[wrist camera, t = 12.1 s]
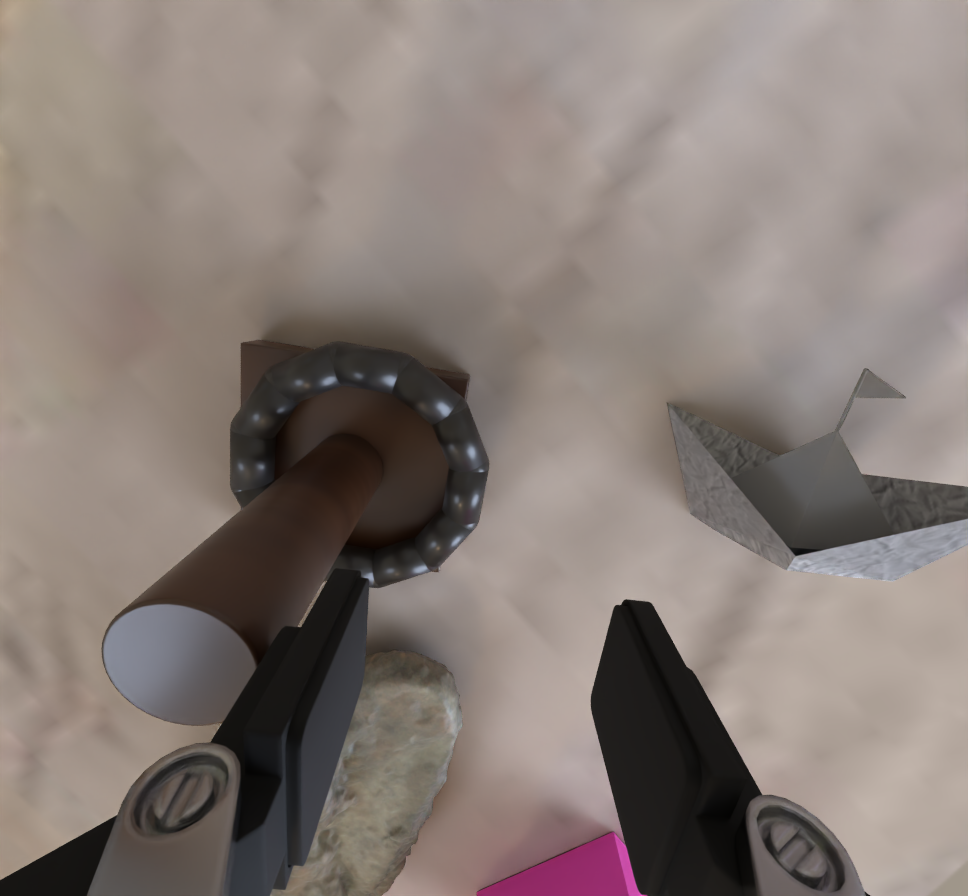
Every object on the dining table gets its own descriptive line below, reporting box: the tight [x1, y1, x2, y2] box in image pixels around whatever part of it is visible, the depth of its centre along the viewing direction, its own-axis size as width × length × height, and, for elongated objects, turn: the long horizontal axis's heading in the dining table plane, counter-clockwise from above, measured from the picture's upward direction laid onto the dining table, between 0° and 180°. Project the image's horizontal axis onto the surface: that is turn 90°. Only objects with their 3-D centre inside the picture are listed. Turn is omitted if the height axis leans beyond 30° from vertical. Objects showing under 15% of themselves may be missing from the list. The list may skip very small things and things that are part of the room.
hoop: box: [230, 342, 489, 588], centre depth 18 cm, size 10×10×2 cm
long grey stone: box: [270, 650, 463, 896], centre depth 26 cm, size 35×5×10 cm
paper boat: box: [667, 369, 968, 581], centre depth 18 cm, size 12×6×9 cm
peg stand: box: [102, 340, 470, 726], centre depth 14 cm, size 9×9×12 cm
